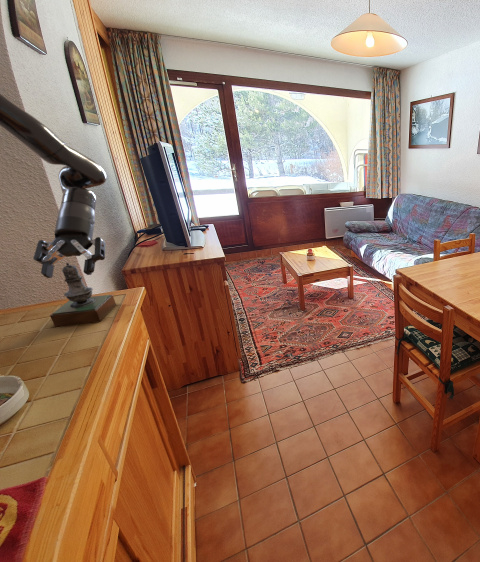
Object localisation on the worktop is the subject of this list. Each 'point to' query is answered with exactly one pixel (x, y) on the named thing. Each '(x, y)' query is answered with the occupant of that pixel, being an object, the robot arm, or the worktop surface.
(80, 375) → the worktop surface
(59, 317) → the walnut stand
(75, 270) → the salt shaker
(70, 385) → the worktop surface
